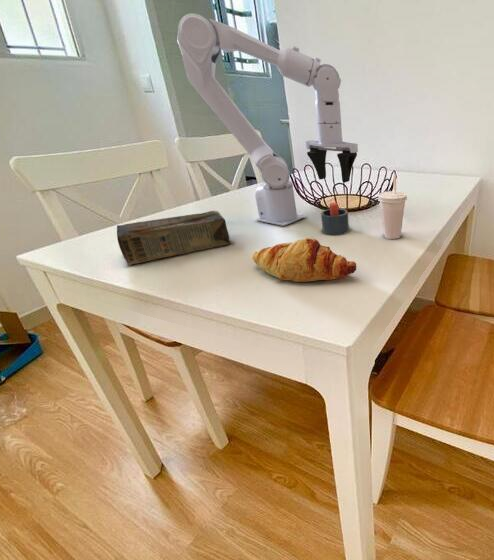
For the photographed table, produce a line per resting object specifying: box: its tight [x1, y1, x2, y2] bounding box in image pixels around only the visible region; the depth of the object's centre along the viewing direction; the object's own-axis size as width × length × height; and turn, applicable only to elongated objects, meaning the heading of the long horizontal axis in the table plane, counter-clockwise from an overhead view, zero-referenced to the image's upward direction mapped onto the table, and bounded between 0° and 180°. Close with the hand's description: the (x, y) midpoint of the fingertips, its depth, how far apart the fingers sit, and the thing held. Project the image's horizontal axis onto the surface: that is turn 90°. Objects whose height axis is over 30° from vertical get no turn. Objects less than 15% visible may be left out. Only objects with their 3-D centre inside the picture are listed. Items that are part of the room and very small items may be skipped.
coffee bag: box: [116, 210, 231, 266], centre depth 71 cm, size 8×19×7 cm, turn 126°
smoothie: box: [377, 173, 408, 240], centre depth 76 cm, size 6×6×14 cm
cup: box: [320, 208, 350, 236], centre depth 82 cm, size 6×6×4 cm
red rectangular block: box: [329, 202, 339, 216], centre depth 81 cm, size 2×2×6 cm
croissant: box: [252, 237, 357, 283], centre depth 62 cm, size 21×10×8 cm, turn 74°
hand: (334, 180), depth 89 cm, fingers open, 7 cm apart
